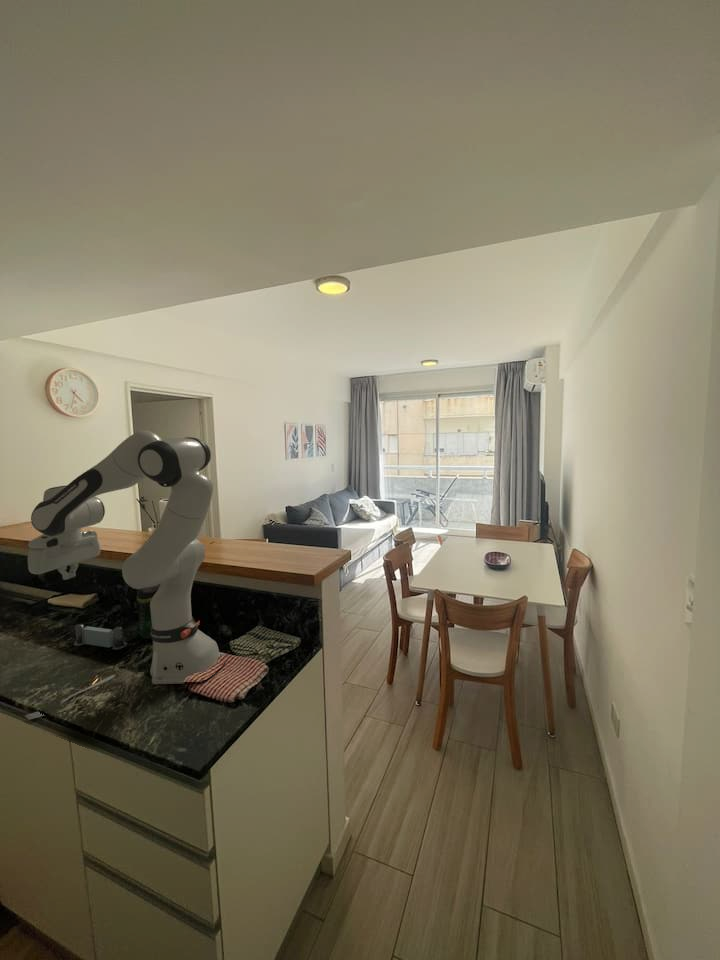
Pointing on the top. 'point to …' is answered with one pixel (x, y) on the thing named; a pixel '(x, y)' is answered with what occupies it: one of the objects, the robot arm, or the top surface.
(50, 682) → the top surface
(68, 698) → the fork
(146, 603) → the coffee jar
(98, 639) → the grey flat block
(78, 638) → the round knob
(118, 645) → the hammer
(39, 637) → the top surface
